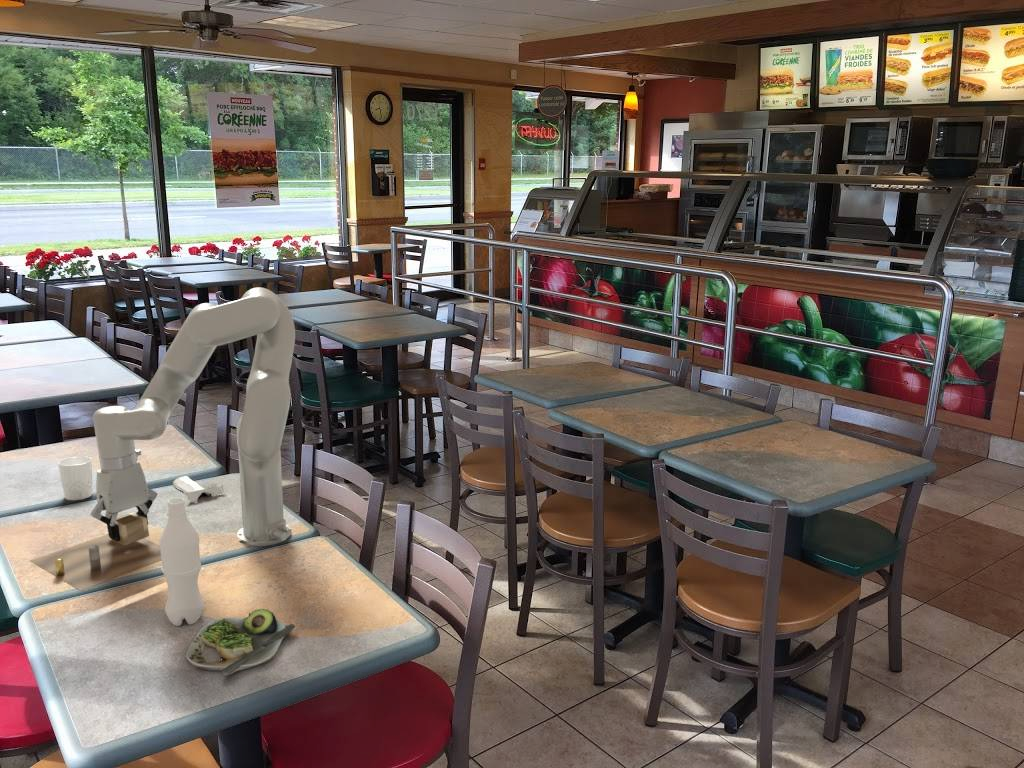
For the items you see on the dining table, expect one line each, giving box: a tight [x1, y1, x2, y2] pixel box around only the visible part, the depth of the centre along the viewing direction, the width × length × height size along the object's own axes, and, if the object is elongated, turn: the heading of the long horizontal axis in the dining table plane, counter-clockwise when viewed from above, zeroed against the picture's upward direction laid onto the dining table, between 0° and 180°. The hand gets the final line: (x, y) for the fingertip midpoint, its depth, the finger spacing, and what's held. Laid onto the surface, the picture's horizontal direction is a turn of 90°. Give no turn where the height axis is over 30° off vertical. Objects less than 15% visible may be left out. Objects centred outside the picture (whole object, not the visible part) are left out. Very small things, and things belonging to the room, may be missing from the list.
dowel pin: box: [55, 558, 65, 577], centre depth 179 cm, size 2×2×4 cm
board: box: [29, 534, 161, 592], centre depth 187 cm, size 22×22×6 cm
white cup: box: [57, 455, 94, 501], centre depth 224 cm, size 8×8×10 cm
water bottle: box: [158, 497, 205, 627], centre depth 162 cm, size 7×7×25 cm
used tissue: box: [172, 475, 225, 504], centre depth 230 cm, size 11×18×4 cm, turn 33°
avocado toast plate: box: [185, 608, 296, 676], centre depth 154 cm, size 19×18×5 cm
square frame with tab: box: [110, 511, 150, 546], centre depth 194 cm, size 10×6×4 cm, turn 53°
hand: (129, 533), depth 193 cm, fingers closed on square frame with tab, 6 cm apart
